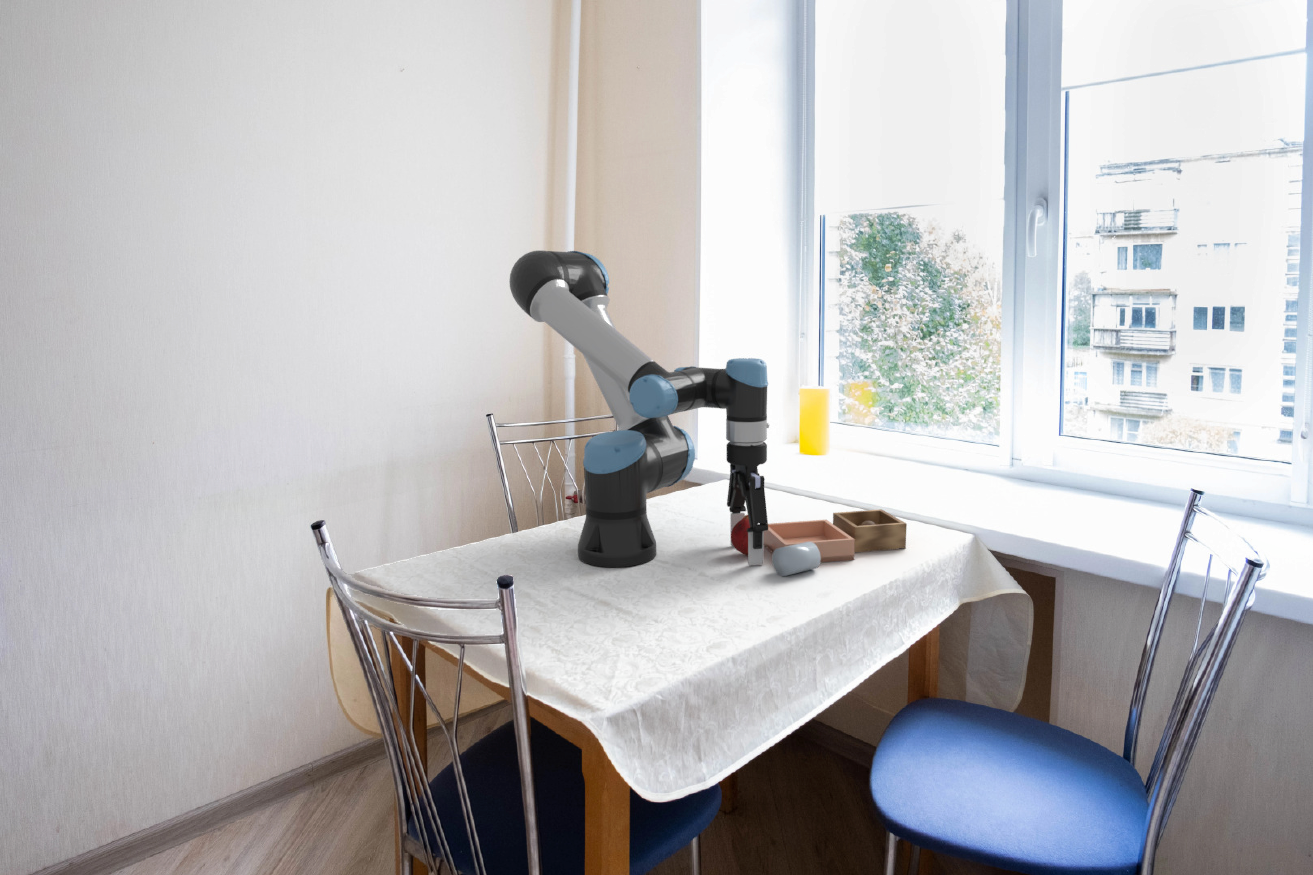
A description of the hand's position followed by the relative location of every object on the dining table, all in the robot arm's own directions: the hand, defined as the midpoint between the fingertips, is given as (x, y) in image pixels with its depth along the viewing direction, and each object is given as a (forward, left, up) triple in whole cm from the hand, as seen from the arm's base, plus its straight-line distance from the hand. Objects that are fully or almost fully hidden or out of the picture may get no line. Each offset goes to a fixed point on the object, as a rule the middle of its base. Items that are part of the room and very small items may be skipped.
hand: (746, 554), depth 157 cm
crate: (+26, +2, 0) cm, 26 cm away
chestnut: (+26, +2, 0) cm, 26 cm away
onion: (0, 0, 0) cm, 0 cm away
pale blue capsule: (+6, -11, 0) cm, 12 cm away
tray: (+12, 0, 0) cm, 12 cm away
